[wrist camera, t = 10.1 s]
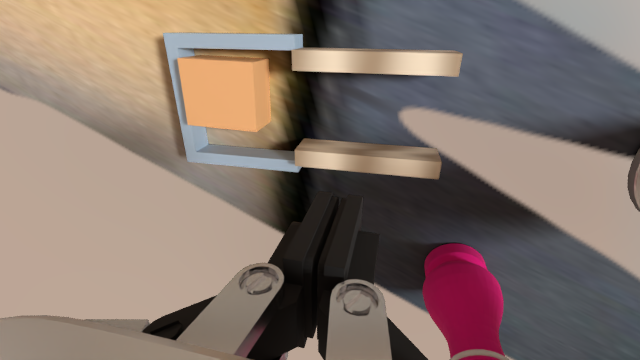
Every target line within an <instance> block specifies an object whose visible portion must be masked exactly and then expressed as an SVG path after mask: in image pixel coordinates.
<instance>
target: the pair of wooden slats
mask: <svg viewBox="0 0 640 360" xmlns="http://www.w3.org/2000/svg"><path fill="white" fill-rule="evenodd" d="M462 55H463V54H462V53H460V52H457V51H447V50H397V49H348V48H298V49H294V50H292V71H313V72H342V73H371V74H400V75H429V76H457V77H458V76H459V70H460V65H461V60H462ZM441 164H442V162H441V159H440V156H439V153H438V151H437V148H423V147H410V146H397V145H384V144H370V143H357V142H344V141H331V140H317V139H303V140H302V142H301V143H300V144H299V145H298V147H297V148H296V149H295V166H300V167H311V168H322V169H332V170H343V171H354V172H365V173H375V174H386V175H397V176H408V177H419V178H429V179H439V174H440V169H441Z"/></svg>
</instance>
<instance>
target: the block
mask: <svg viewBox="0 0 640 360" xmlns="http://www.w3.org/2000/svg"><path fill="white" fill-rule="evenodd" d="M177 60H178V66H179V73H180V79H181V85H182V92H183V98H184V104H185V111H186V117H187V123H188V125H192V126H202V127H212V128H222V129H232V130H243V131H253V132H257V131H259V130H260V129H261V128H263V127H264V126H265V125H267V124H268V123H269V122H271V107H270V82H269V59H264V58H246V57H228V56H210V55H197V56H189V57H182V58H177Z"/></svg>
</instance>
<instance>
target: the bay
mask: <svg viewBox="0 0 640 360" xmlns="http://www.w3.org/2000/svg"><path fill="white" fill-rule="evenodd" d="M163 37H164V42H165V47H166V52H167V57H168V63H169V68H170V73H171V78H172V83H173V89H174V94H175V99H176V104H177V109H178V115H179V120H180V125H181V130H182V135H183V140H184V146H185V151H186V156H187V161H188V162H196V163H207V164H217V165H227V166H238V167H248V168H259V169H269V170H279V171H290V172H299V170H300V169H301V167H300V166H295V151H284V150H272V149H260V148H248V147H236V146H224V145H212V144H208V138H207V132H206V127H202V126H192V125H188V123H187V117H186V111H185V104H184V98H183V92H182V85H181V79H180V73H179V66H178V60H177V58H182V57H189V56H195V55H194V49H193V48H206V49H251V50H294V49H298V48H303V34H248V33H163Z"/></svg>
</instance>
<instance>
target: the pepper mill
mask: <svg viewBox="0 0 640 360" xmlns="http://www.w3.org/2000/svg"><path fill="white" fill-rule="evenodd" d="M424 268H425V276H426V279H425V281H424V284H423V297H424V301H425V305H426V308H427V310H428V312H429V314H430V316H431V318H432V319H433V321H434V322H435V324H436V325H437V326H438V328H439V329H440V330H441V332H442V333H443V335H444V337H445V338H446V340H447V342H448V346H449V350H450V357H451V359H450V360H509V359H508V358H507V357H505V355H504V353H503V351H502V348H501V345H500V341H499V327H500V323H501V319H502V315H503V296H502V292H501V288H500V285H499V283H498V281H497V280H496V278H495V277H494V276H493V275H492V274H491V273H490V272H489V271H488V270H487V267H486V264H485V262H484V259H483V257H482V256H481V254H480V253H479V252H478V251H476V250H475V249H474V248H472V247H470V246H467V245H464V244H458V243H450V244H445V245H441V246H439V247H437V248H435V249H433V250H432V251H431V252H430V253H429V254H428V256H427V257H426V259H425V263H424Z"/></svg>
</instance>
